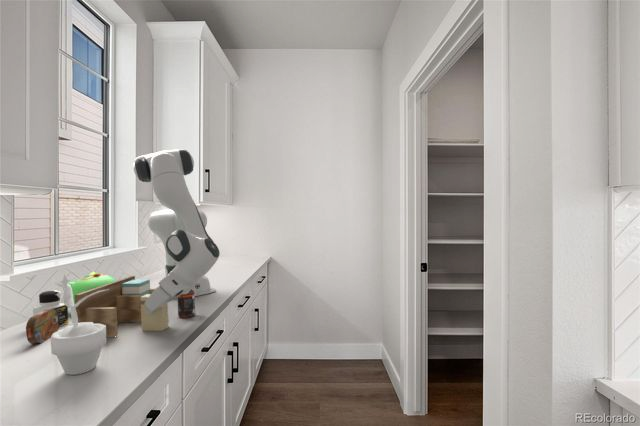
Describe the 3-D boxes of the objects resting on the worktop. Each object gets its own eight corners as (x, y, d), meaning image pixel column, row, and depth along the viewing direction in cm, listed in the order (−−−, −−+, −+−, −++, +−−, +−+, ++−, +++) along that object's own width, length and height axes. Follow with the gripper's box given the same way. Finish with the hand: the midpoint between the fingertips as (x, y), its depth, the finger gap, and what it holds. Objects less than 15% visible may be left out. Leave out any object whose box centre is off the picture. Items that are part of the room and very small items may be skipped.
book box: (168, 326, 123) (167, 293, 123) (162, 330, 119) (161, 296, 119) (148, 326, 123) (146, 294, 123) (141, 330, 119) (140, 297, 119)
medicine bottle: (48, 330, 122) (46, 294, 122) (33, 328, 125) (31, 293, 124) (68, 323, 129) (67, 289, 129) (54, 321, 131) (53, 288, 131)
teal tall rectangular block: (150, 313, 139) (149, 279, 138) (140, 319, 132) (139, 283, 131) (134, 313, 139) (133, 279, 139) (123, 319, 132) (121, 283, 132)
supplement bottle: (198, 314, 135) (197, 284, 135) (184, 319, 130) (183, 287, 130) (188, 312, 139) (187, 282, 139) (174, 316, 134) (173, 286, 134)
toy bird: (91, 317, 136) (90, 277, 136) (56, 314, 141) (55, 276, 140) (128, 304, 154) (127, 269, 153) (96, 302, 158) (95, 268, 158)
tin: (36, 347, 107) (35, 318, 107) (24, 348, 107) (22, 319, 106) (61, 330, 122) (60, 305, 122) (50, 331, 121) (49, 305, 121)
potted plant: (42, 384, 84) (37, 275, 83) (64, 363, 95) (61, 267, 95) (103, 376, 87) (99, 271, 86) (118, 357, 98) (115, 264, 98)
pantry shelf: (158, 311, 141) (157, 275, 141) (109, 340, 111) (107, 294, 111) (132, 311, 142) (130, 275, 141) (76, 340, 112) (74, 294, 111)
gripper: (187, 268, 131) (161, 296, 131) (158, 280, 110) (128, 313, 111) (199, 281, 131) (173, 308, 131) (173, 295, 110) (143, 327, 111)
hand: (152, 310), depth 121 cm, fingers closed on book box, 4 cm apart
